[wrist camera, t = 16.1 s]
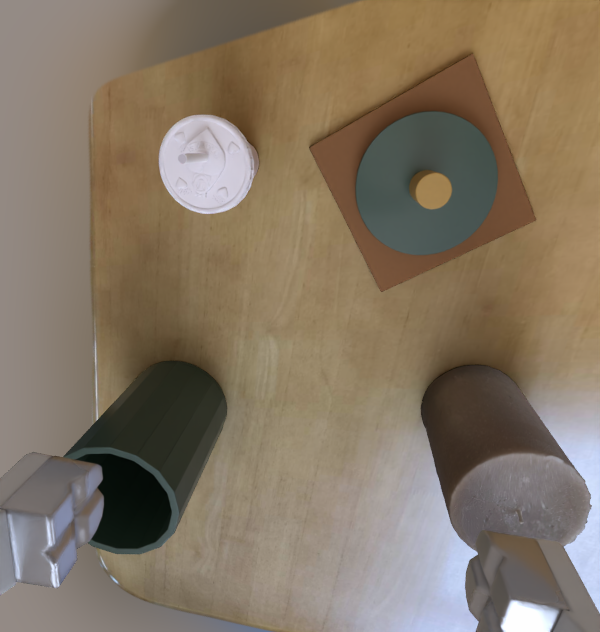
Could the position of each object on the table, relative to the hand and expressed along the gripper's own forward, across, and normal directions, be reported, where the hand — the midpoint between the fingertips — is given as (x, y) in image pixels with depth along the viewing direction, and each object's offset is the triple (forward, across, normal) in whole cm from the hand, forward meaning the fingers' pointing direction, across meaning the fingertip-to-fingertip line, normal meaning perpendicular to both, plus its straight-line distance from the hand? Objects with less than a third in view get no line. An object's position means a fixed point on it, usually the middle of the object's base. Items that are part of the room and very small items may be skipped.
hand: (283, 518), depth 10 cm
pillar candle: (+33, -16, +15) cm, 40 cm away
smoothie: (+33, +9, -5) cm, 35 cm away
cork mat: (+33, -6, -6) cm, 34 cm away
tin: (+33, +14, +20) cm, 41 cm away
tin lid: (+32, -7, -5) cm, 33 cm away
